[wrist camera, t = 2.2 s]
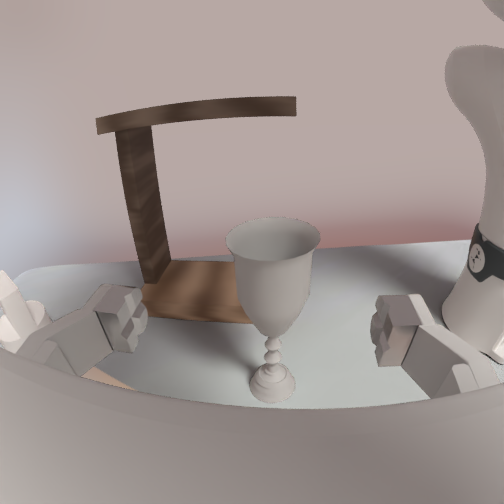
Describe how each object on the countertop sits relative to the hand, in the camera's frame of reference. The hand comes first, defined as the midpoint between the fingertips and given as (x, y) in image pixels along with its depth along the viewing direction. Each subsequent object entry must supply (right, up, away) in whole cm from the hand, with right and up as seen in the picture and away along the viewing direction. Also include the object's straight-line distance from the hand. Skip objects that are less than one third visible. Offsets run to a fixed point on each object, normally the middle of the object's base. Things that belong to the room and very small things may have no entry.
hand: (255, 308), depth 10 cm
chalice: (+2, -13, +21) cm, 25 cm away
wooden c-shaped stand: (-5, -5, +35) cm, 36 cm away
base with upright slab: (-32, -13, +24) cm, 42 cm away
